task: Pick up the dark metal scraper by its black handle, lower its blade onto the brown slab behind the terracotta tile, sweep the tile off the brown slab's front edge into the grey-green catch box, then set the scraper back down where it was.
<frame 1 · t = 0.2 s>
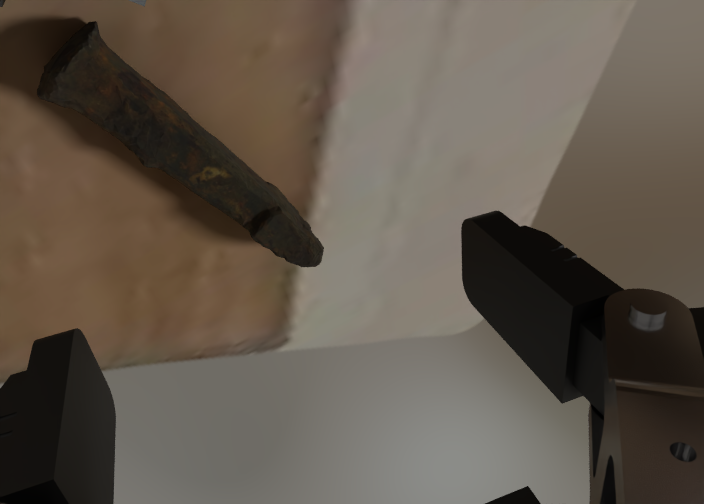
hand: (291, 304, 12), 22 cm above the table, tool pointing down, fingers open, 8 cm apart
hand tool: (213, 147, 34), on the table
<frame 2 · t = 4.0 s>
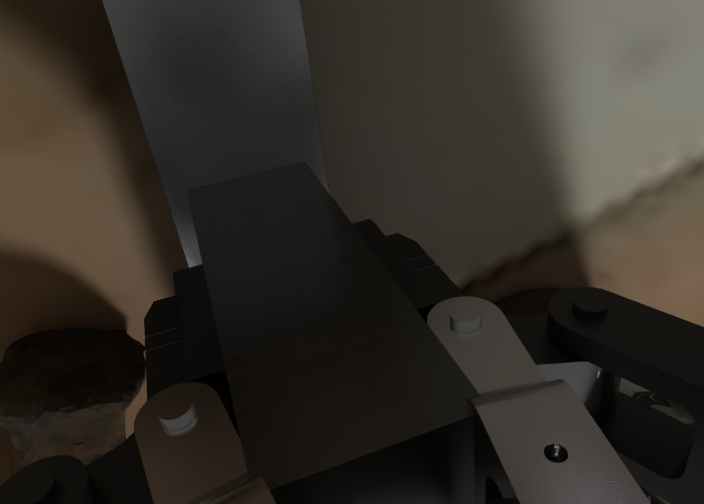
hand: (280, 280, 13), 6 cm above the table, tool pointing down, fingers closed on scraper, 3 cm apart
scraper: (240, 184, 17), on the table, touching gripper
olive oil: (511, 369, 26), on the table
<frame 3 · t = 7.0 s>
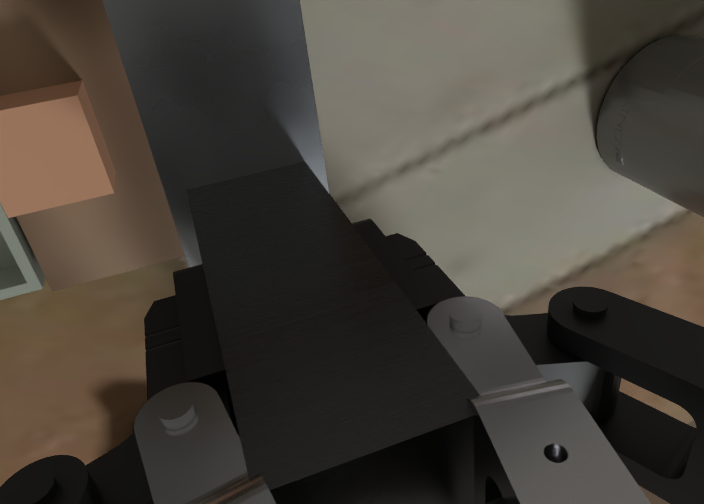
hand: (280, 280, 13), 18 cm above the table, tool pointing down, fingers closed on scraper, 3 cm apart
scraper: (240, 184, 17), point 12 cm above the table, touching gripper
brown slab: (135, 102, 27), on the table
tile: (49, 138, 23), point 3 cm above the table, touching brown slab
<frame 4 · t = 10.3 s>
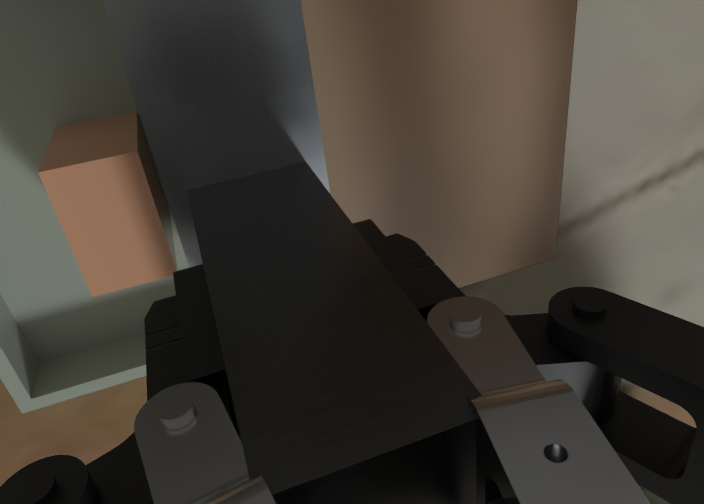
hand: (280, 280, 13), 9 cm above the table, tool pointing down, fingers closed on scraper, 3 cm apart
scraper: (241, 185, 17), point 4 cm above the table, touching gripper
catch box: (86, 177, 19), on the table
brown slab: (385, 109, 22), on the table
tile: (156, 190, 18), point 2 cm above the table, tilted 90°, touching catch box
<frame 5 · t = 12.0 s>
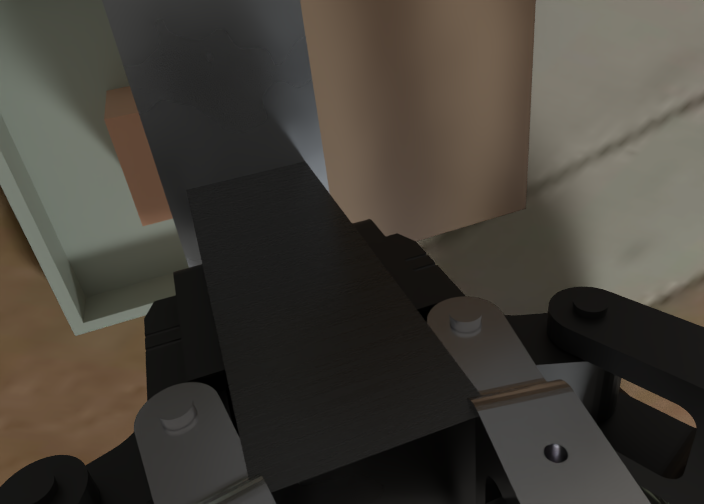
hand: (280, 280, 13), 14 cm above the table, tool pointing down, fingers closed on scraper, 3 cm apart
scraper: (240, 184, 17), point 8 cm above the table, touching gripper
catch box: (129, 135, 23), on the table
brown slab: (378, 79, 26), on the table
tile: (191, 141, 22), point 2 cm above the table, tilted 90°, touching catch box
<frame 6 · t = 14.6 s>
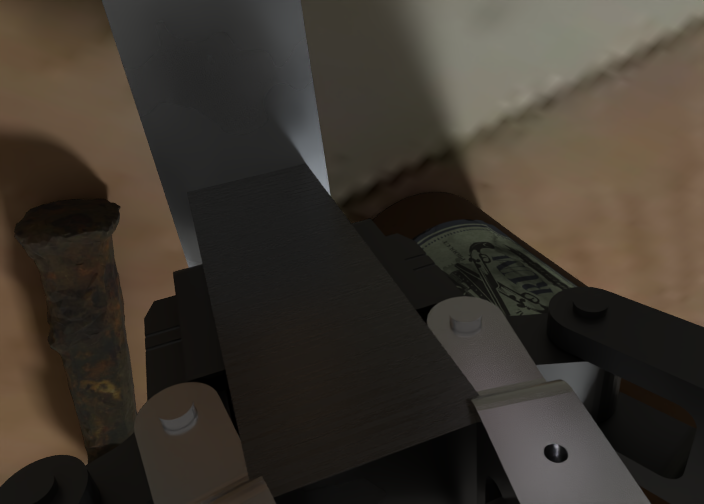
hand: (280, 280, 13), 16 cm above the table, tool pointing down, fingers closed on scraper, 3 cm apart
hand tool: (114, 350, 31), on the table
scraper: (241, 186, 17), point 10 cm above the table, touching gripper
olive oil: (418, 259, 34), on the table
when the fingers open (7 cm above the table, at t = 16.8 s): scraper drops 1 cm, on the table.
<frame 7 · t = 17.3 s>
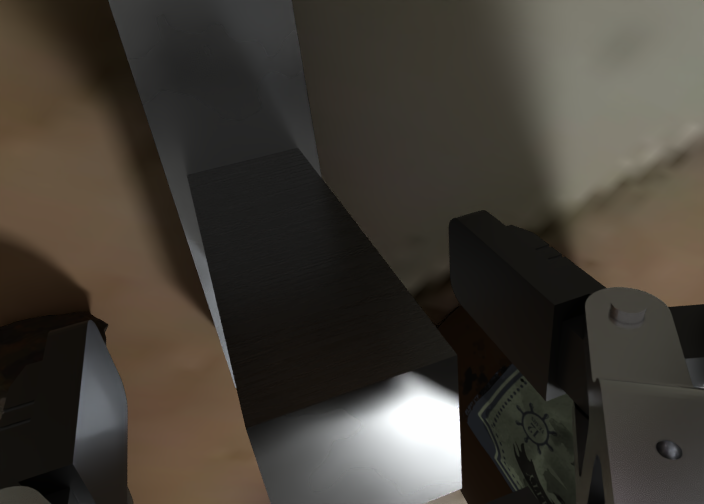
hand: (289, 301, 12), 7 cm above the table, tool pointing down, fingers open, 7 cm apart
hand tool: (113, 490, 23), on the table
scraper: (238, 172, 18), on the table
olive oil: (500, 354, 27), on the table
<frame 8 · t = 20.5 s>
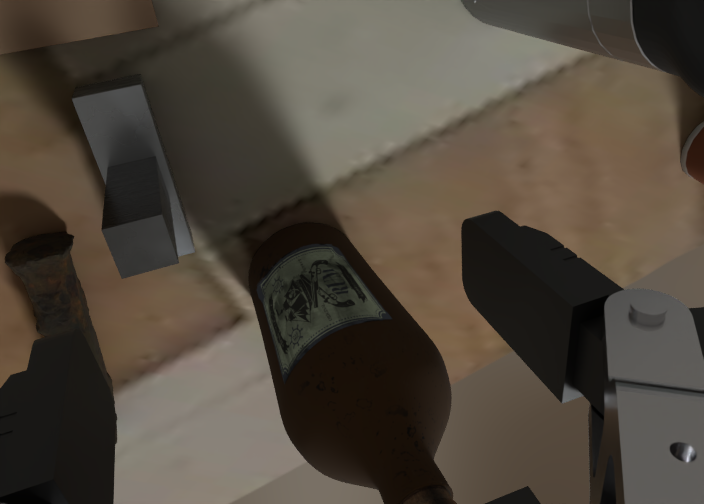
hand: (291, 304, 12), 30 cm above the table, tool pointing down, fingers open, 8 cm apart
hand tool: (87, 333, 44), on the table
scraper: (138, 166, 39), on the table
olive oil: (303, 269, 48), on the table
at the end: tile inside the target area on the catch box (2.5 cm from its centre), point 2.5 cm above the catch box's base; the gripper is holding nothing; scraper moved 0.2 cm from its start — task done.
